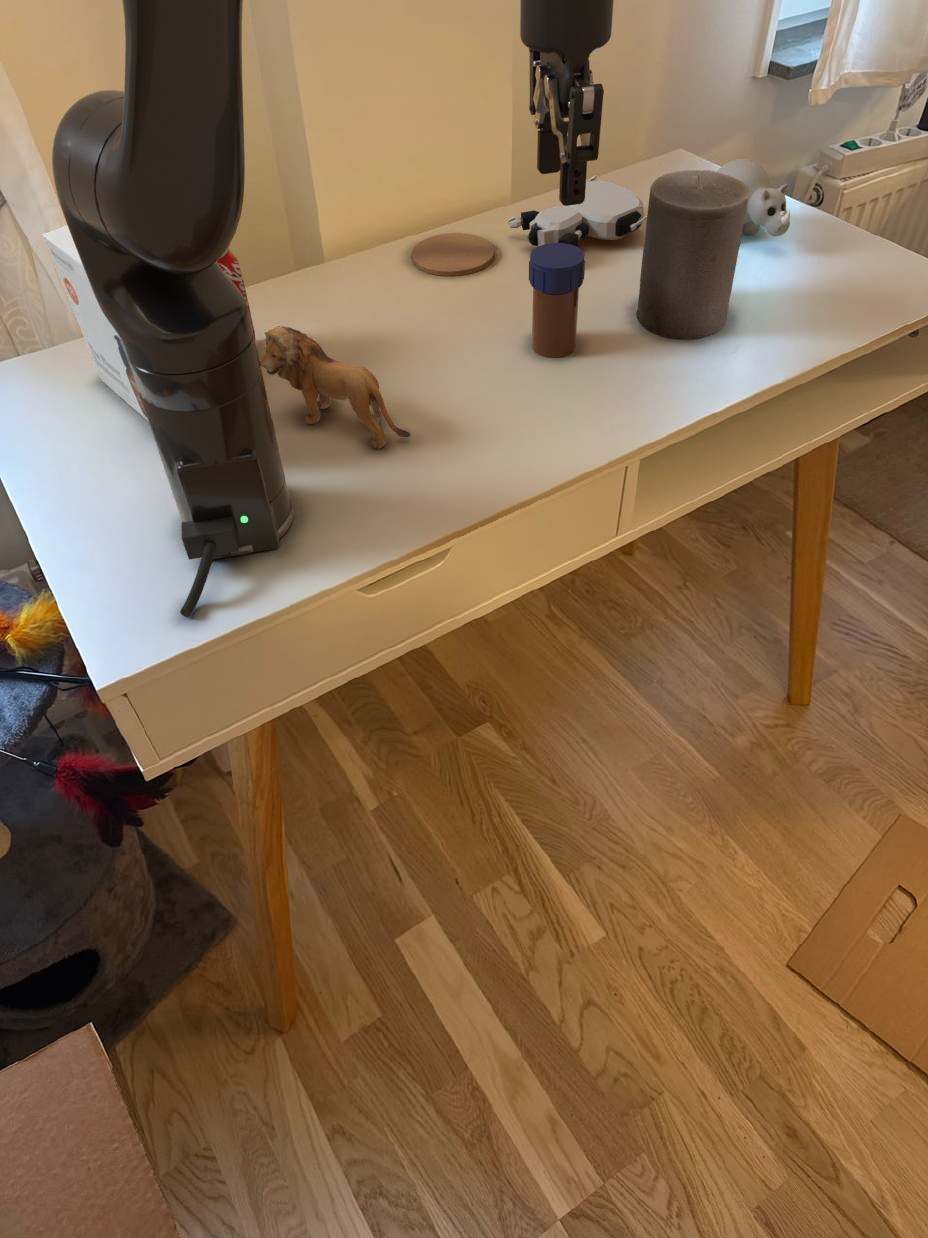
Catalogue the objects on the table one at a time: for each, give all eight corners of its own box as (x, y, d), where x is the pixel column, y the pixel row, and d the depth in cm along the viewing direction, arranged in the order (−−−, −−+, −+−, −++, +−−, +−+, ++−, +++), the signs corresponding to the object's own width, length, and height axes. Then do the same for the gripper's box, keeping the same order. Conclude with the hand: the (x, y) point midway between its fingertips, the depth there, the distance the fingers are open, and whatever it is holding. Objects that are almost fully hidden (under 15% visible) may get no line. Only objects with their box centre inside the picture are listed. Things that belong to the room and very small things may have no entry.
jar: (581, 353, 97) (586, 267, 90) (538, 360, 96) (540, 273, 90) (568, 331, 100) (572, 246, 93) (526, 337, 99) (528, 252, 93)
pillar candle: (631, 335, 99) (646, 192, 88) (641, 291, 106) (656, 152, 95) (724, 344, 97) (751, 198, 86) (729, 298, 104) (755, 157, 93)
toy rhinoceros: (755, 267, 108) (770, 192, 102) (689, 228, 116) (699, 157, 109) (801, 251, 111) (819, 177, 104) (734, 214, 118) (747, 143, 112)
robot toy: (560, 281, 109) (660, 237, 114) (559, 244, 106) (662, 201, 110) (502, 242, 117) (598, 203, 121) (500, 207, 113) (599, 167, 117)
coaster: (502, 269, 110) (502, 264, 110) (420, 280, 109) (419, 276, 109) (483, 233, 117) (483, 228, 116) (405, 243, 116) (404, 238, 115)
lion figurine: (264, 422, 91) (245, 338, 84) (293, 393, 94) (276, 310, 87) (398, 456, 86) (389, 370, 79) (423, 424, 89) (417, 340, 83)
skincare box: (95, 383, 96) (39, 231, 85) (142, 363, 99) (94, 212, 87) (199, 474, 85) (151, 314, 74) (250, 449, 88) (211, 290, 76)
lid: (590, 290, 91) (591, 263, 90) (537, 297, 91) (538, 271, 89) (574, 265, 95) (575, 239, 93) (523, 272, 94) (523, 246, 92)
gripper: (643, -8, 70) (624, 214, 82) (585, -51, 79) (575, 153, 92) (547, 3, 69) (542, 225, 81) (500, -42, 78) (501, 162, 91)
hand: (560, 186), depth 86 cm, fingers open, 7 cm apart
